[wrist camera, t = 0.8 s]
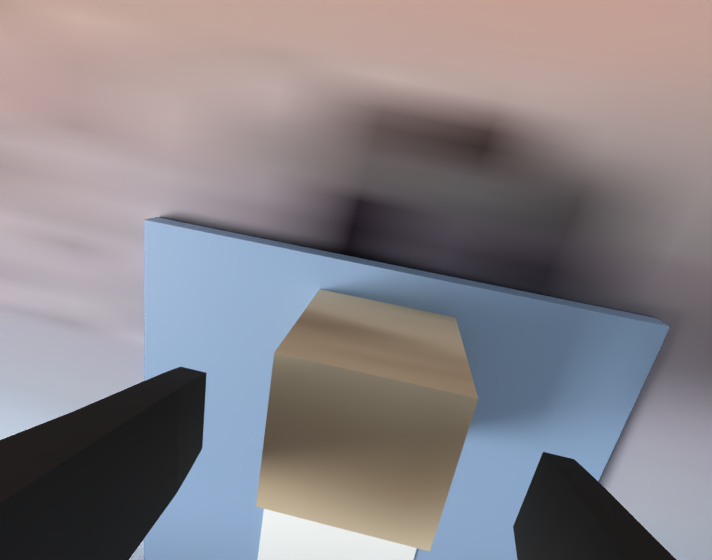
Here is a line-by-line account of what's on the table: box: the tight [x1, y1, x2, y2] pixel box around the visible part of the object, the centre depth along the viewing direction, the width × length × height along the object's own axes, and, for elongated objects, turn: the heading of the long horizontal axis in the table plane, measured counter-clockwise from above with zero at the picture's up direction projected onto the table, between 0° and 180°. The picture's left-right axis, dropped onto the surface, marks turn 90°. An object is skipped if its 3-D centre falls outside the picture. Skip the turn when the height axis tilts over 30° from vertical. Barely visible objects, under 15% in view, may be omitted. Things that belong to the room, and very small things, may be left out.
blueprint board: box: [144, 217, 670, 560], centre depth 15 cm, size 22×15×1 cm
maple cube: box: [256, 289, 478, 551], centre depth 10 cm, size 4×4×4 cm
